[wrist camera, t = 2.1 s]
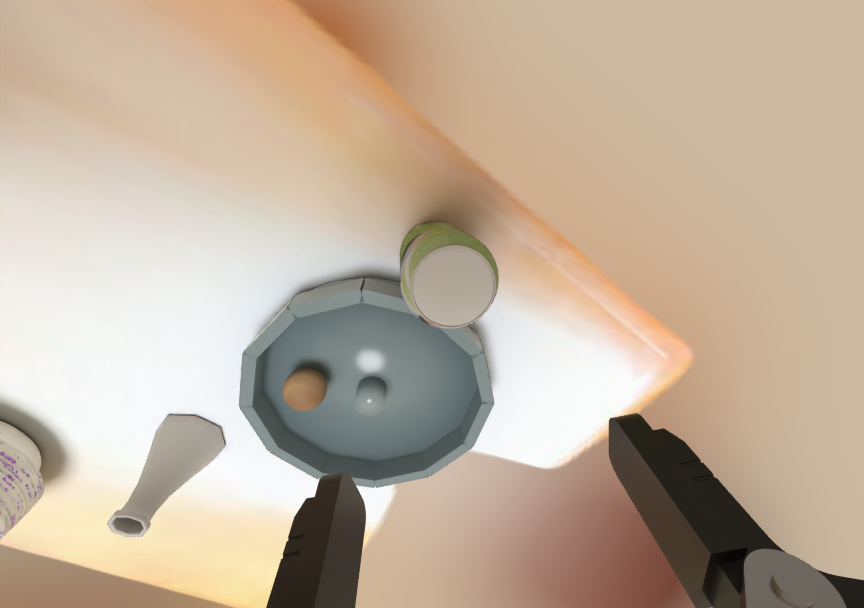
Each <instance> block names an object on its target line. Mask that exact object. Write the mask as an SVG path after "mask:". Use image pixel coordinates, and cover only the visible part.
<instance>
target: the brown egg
mask: <svg viewBox="0 0 864 608" xmlns="http://www.w3.org/2000/svg"><path fill="white" fill-rule="evenodd" d="M326 392H327V383H326V380H325V378H324V376H323V375H322V374H321V373H320V372H318V371H317V370H315V369H311V368H302V369H299V370H296V371H294V372H293V373H292V374H290V375H289V376H288V378H287V379H286V381H285V383H284V385H283V397H284V400H285V402H286V403H287V404H288V405H289V406H290V407H291V408H293V409H295V410H299V411H307V410H311V409H313V408H315V407H317V406H318V405H319V404H320V403H321V402H322V401H323V399H324V398H325V395H326Z"/></svg>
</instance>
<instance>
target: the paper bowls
mask: <svg viewBox="0 0 864 608" xmlns="http://www.w3.org/2000/svg"><path fill="white" fill-rule="evenodd" d="M41 461H42V460H41V455H40V452H39V450H38V448H37V446H36V445H35V444H34V442H33V441H32V440H31V439H30V438H29V437H28V436H26V435H25V434H24V433H23V432H21V431H20V430H18V429H16V428H15V427H13V426H11V425H9V424H7V423H5V422H2V421H0V540H1V538H2V537H3V536H4V535H6V533H7V532H8V531H9V530H11V529H12V528H13V527H14V526H15V525H16V524H17V523H18V522H19V521H20V519H22V518H23V517H24V516H25V514H27V513H28V512H29V511H30V509H31V508H32V507H33V506H34V505H35V504H36V503H37V502H38V500H39V499H40V498H41V496H42V494H43V491H44V481H43V477H42V476H41V473H40V472H39V470H40V467H41Z"/></svg>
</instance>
